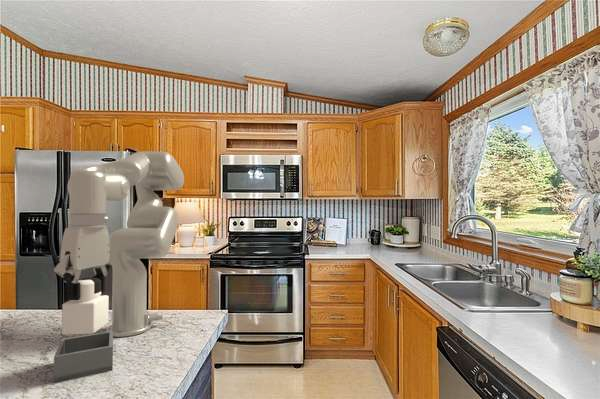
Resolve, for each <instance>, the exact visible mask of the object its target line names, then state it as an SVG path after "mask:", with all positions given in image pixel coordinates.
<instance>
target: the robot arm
mask: <svg viewBox="0 0 600 399" xmlns="http://www.w3.org/2000/svg"><path fill="white" fill-rule="evenodd" d="M184 184H185V175H184V172H183V170H182V168H181V166H180V165H179V164H178V162H177V160H176V159H175V158H174V156H173V155H172V154H170V153H169V152H167V151H156V150H155V151H150V150H149V151H148V150H145V151H137V152H134V153H132V154H130V155H128V156H126V157H124V158H123V159H121V160H115V161H110V162H106V163H100V164H96V165H92V166H89V167H86V168H83V169H79V170H74V171H72V172H71V173H70V175H69V180H68V182H67V193H68V194H69V198H68V199H69V200H68V202H69V204H68V205H69V206H68V209H69V211H68V213H69V214H68V227H65V229H64V231H63V236H62V241H61V245H60V246H61V247H60V254H59V255H60V258H59V263H58V264H56V266H55V267H54V269H53V272H54V273H56V274H57V275H58V276H59V277H60V278H61V279H62V280H63V282H64V283H66V299H67V300H68V301H70V300H79V299H80V283H79V282H78V279H80V276H81V273H82V271H85V270H88V269H89V270H90V269H93V273H94V275H93V276H92V278H98V279H100V280H101V294H103V293H105V292H106V291H105V290H106V286H105V285H106V277H107V276H108V272H109V271H110V269H111V266H112V285H111V286H112V291H111V292H112V296H111V298H112V299H111V300H112V302H111V303H112V304H111V306H112V307H111V310H112V311H111V324H110V325H109V326H107V327H106V330H105V332H109V331H113V338H121V337H122V338H124V337H132V336H136V335H139V334H142V333H145V332H146V331H149V330H150V329H151V327H152V325H153V324H152V322H153V321H162V320H163V313H158V312H153V313H149V312H148V310H147V294H148V293H147V287H148V286H147V284H148V283H147V282H148V280H147V278H148V276H147V274H148V272H147V269H146V266H145V265H144V263H143V262H142V261H141V260H140V259H161V258H164V257H166V256H168V253H169V251H170V249H171V247H172V243H173V241H174V239H175V235H176V233H177V230H178V226H179V216H178V215H179V214H178V212H177V211H176V209H174V207H171V206H164V204H163V201H162V199H161V197H159V195H158V194H157V193H155V191H178V190H181V189H182V188H183V186H184ZM132 186H135V191H136V197H137V201H136V203H135V204H134V205H133V208H132V209H131V212H130V213H129V215H128V218H127V220H126V227H123V228H119V229H116V230H114V232H112V233H111V235H110V236H109V234H110V233H109V230H108V226H106V223H107V221H108V219H109V218H108V216H106V215H107V214H106V213H107V202H119V201H123V200H124V199H126V198H127V197H128V196H129V194H130V190H131V187H132Z"/></svg>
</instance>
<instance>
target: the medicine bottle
mask: <svg viewBox="0 0 600 399" xmlns="http://www.w3.org/2000/svg"><path fill="white" fill-rule="evenodd" d="M78 282H79V283H80V299H79V300H68V301H66V302H64V303H63V304H62V305H61V306H62V307H61V308H62V309H61V334H62V335H90V334H96V332H98V331H100V329H102V328H103V327H104V326H105V327H106V325H108V324H109V295H107V294H105V295H102V293H101V280H100V279H98V278H93V277H83V278H79V279H78Z"/></svg>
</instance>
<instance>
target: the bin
mask: <svg viewBox="0 0 600 399" xmlns="http://www.w3.org/2000/svg"><path fill="white" fill-rule="evenodd" d="M113 349H114V337H113V331H109V332H106V331H104V332H98V333H96V332H95V333H93V334H83V335H78V336H74V337H72V336H71V337H66V338H61V339H60V342H59V343H58V347H57V349H56V351H55V354H54V356H53V383H57V382H58V383H59V382H63V381H67V380H73V379H77V378H81V377H86V376H92V375H95V374H101V373H105V372H110V371H113V369H114V368H113V367H114V366H113V365H114V361H113V360H114V358H113V357H114V350H113Z"/></svg>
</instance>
